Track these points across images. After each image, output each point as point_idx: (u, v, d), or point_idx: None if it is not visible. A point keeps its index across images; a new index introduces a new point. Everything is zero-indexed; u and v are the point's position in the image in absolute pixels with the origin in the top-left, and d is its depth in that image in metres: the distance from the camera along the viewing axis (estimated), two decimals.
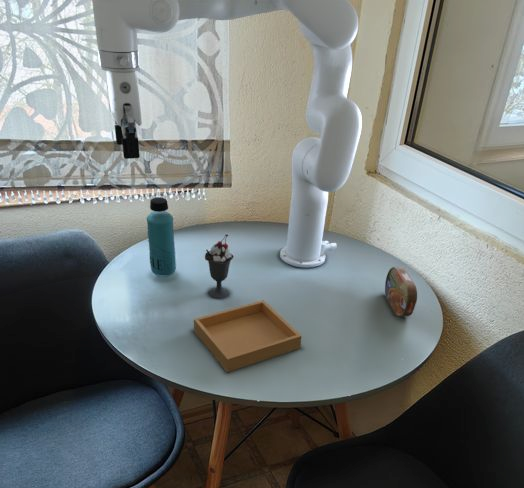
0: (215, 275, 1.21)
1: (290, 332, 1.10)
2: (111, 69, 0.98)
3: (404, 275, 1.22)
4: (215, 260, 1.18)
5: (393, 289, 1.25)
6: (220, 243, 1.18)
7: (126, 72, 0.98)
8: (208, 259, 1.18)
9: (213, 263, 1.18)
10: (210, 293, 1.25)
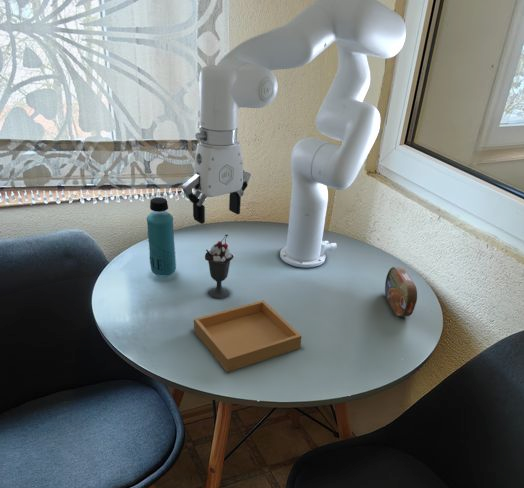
0: (215, 275, 1.21)
1: (290, 332, 1.10)
2: (200, 140, 1.04)
3: (404, 275, 1.22)
4: (215, 260, 1.18)
5: (393, 289, 1.25)
6: (220, 243, 1.18)
7: (203, 146, 1.02)
8: (208, 259, 1.18)
9: (213, 263, 1.18)
10: (210, 293, 1.25)
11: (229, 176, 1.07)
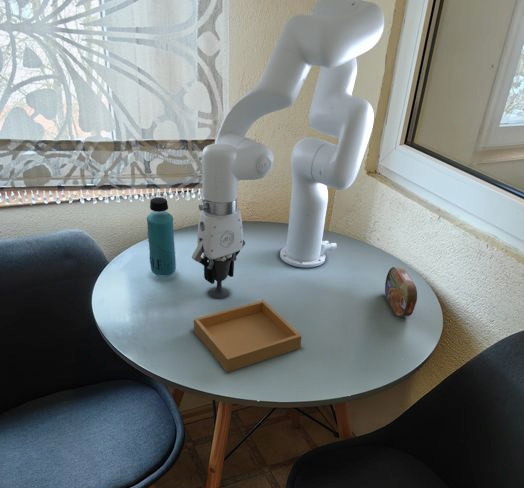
0: (215, 275, 1.21)
1: (290, 332, 1.10)
2: None
3: (404, 275, 1.22)
4: (216, 260, 1.18)
5: (393, 289, 1.25)
6: None
7: (206, 215, 1.11)
8: None
9: (214, 263, 1.18)
10: (210, 293, 1.25)
11: (230, 240, 1.16)
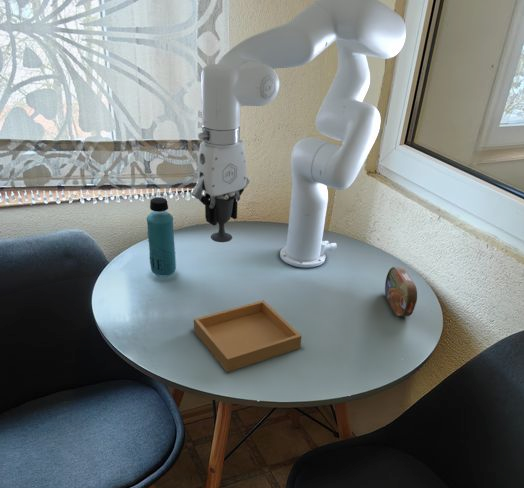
0: (217, 215, 1.12)
1: (290, 332, 1.10)
2: None
3: (404, 275, 1.22)
4: (217, 198, 1.09)
5: (393, 289, 1.25)
6: None
7: (206, 146, 1.02)
8: None
9: (215, 201, 1.10)
10: (212, 237, 1.16)
11: (233, 175, 1.07)
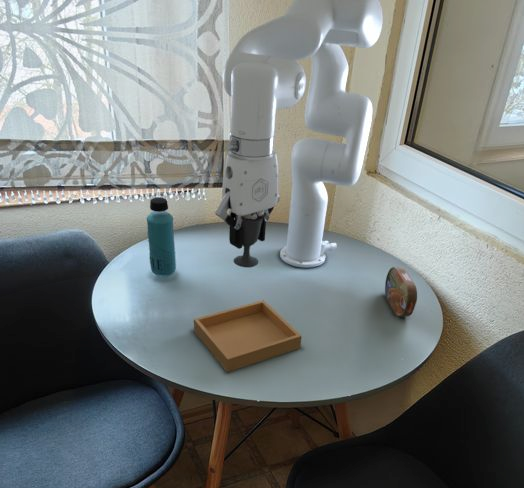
0: (243, 237, 0.97)
1: (290, 332, 1.10)
2: (230, 151, 0.89)
3: (404, 275, 1.22)
4: (244, 217, 0.94)
5: (393, 289, 1.25)
6: None
7: (235, 158, 0.87)
8: (235, 216, 0.95)
9: (242, 221, 0.95)
10: (235, 261, 1.01)
11: (263, 191, 0.92)
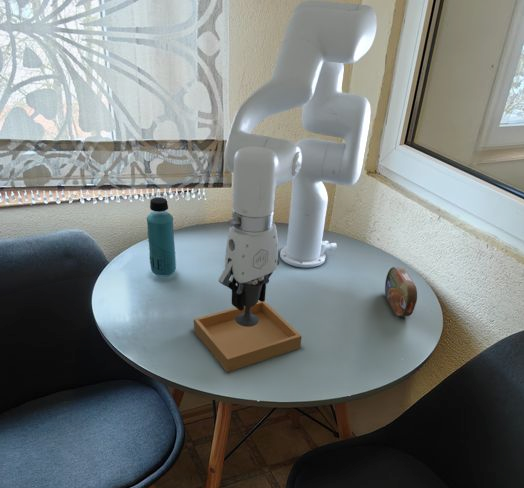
0: (245, 300, 1.03)
1: (290, 332, 1.10)
2: None
3: (404, 275, 1.22)
4: (246, 283, 1.00)
5: (393, 289, 1.25)
6: None
7: (237, 232, 0.93)
8: (237, 281, 1.00)
9: None
10: (237, 320, 1.07)
11: (263, 260, 0.98)
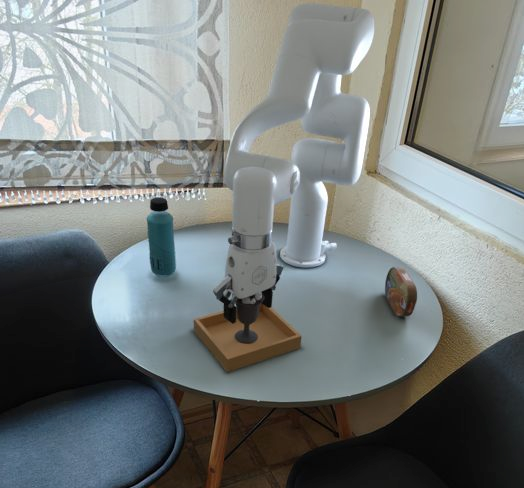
0: (243, 318, 1.06)
1: (290, 332, 1.10)
2: None
3: (404, 275, 1.22)
4: (244, 302, 1.03)
5: (393, 289, 1.25)
6: None
7: (236, 250, 0.95)
8: (236, 301, 1.03)
9: (242, 305, 1.03)
10: (236, 337, 1.10)
11: (262, 276, 1.00)
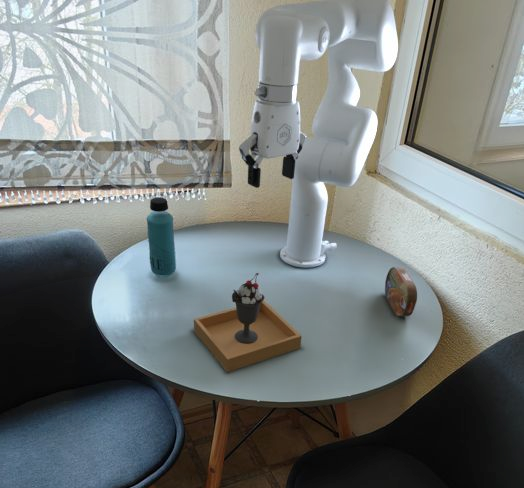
0: (243, 318, 1.06)
1: (290, 332, 1.10)
2: None
3: (404, 275, 1.22)
4: (244, 302, 1.03)
5: (393, 289, 1.25)
6: (250, 283, 1.03)
7: (263, 103, 0.97)
8: (236, 301, 1.03)
9: (241, 305, 1.03)
10: (236, 337, 1.10)
11: (287, 136, 1.02)
